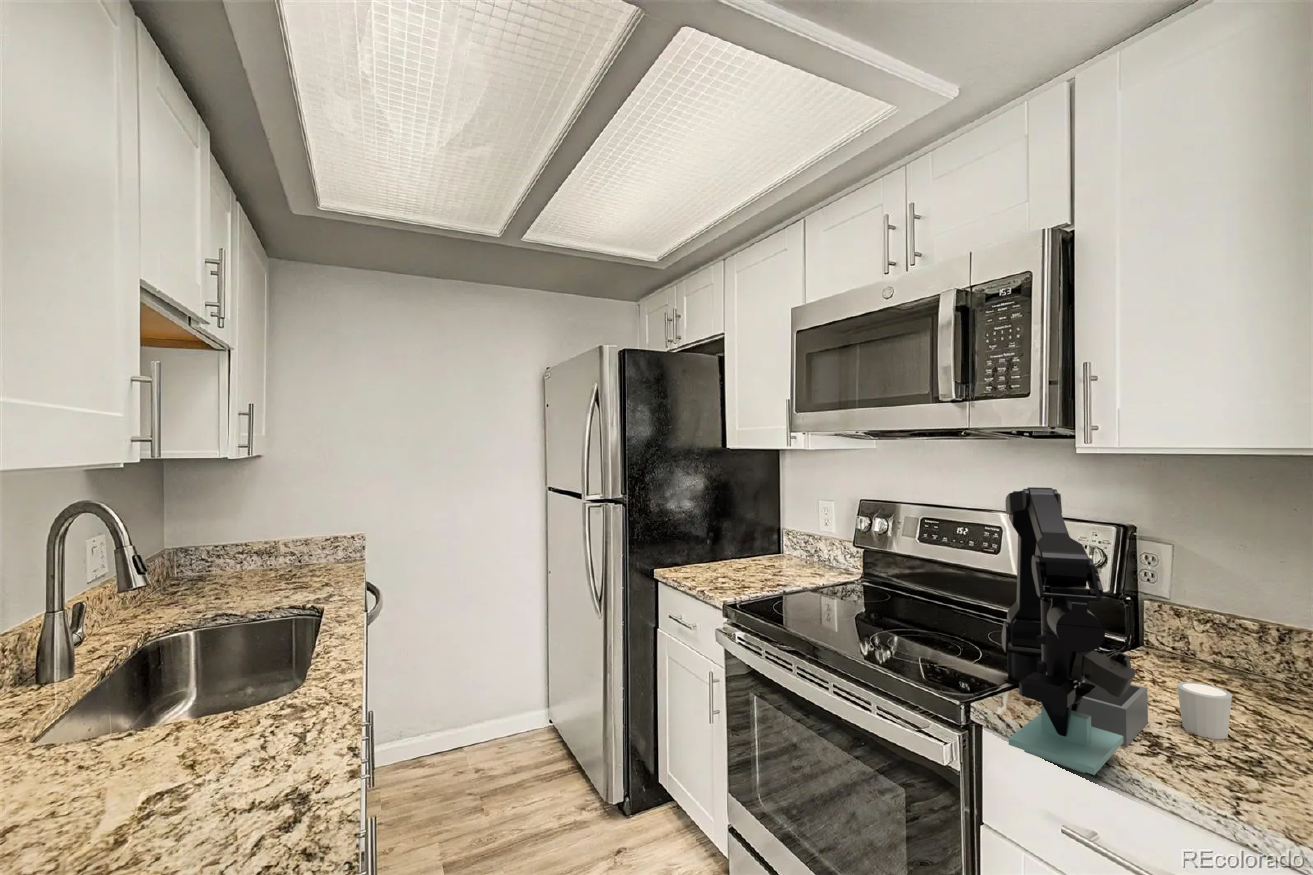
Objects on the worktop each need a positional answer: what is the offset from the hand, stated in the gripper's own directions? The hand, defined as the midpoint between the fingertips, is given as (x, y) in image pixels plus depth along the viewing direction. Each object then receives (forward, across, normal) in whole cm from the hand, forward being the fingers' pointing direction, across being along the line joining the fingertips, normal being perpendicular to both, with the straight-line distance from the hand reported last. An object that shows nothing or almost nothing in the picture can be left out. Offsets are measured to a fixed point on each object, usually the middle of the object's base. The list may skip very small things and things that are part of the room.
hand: (1064, 733), depth 93 cm
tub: (+4, +18, 0) cm, 18 cm away
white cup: (+4, +28, -12) cm, 31 cm away
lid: (+3, 0, 0) cm, 3 cm away
